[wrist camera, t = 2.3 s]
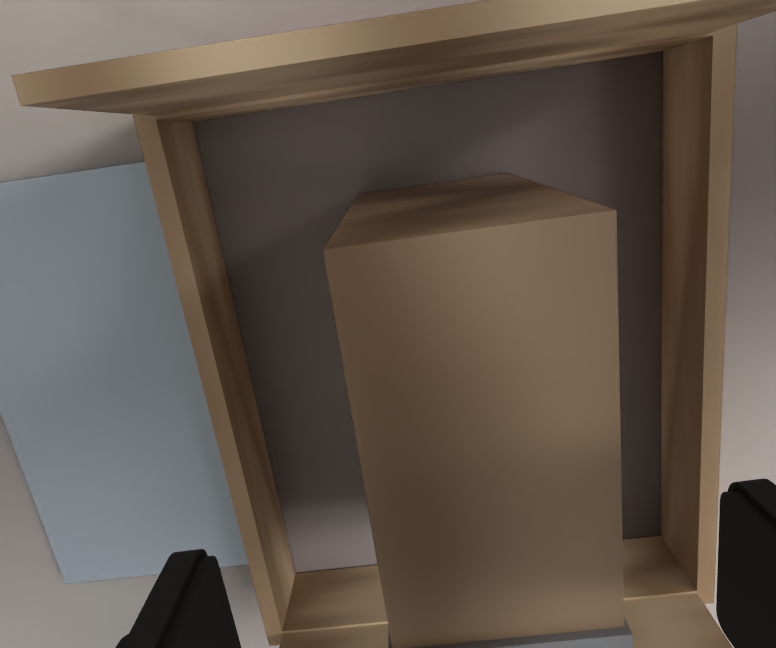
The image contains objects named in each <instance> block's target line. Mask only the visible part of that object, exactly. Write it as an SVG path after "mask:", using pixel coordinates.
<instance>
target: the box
mask: <svg viewBox="0 0 776 648" xmlns="http://www.w3.org/2000/svg"><path fill="white" fill-rule="evenodd" d="M323 255H324V261H325V266H326V272H327V278H328V283H329V289H330V295H331V300H332V306H333V312H334V318H335V323H336V329H337V335H338V340H339V346H340V352H341V358H342V363H343V369H344V375H345V380H346V386H347V392H348V398H349V403H350V409H351V415H352V420H353V426H354V432H355V438H356V443H357V449H358V455H359V460H360V466H361V472H362V478H363V483H364V489H365V495H366V500H367V506H368V512H369V518H370V523H371V529H372V535H373V540H374V546H375V552H376V558H377V563H378V569H379V575H380V580H381V586H382V592H383V598H384V603H385V609H386V615H387V620H388V648H633V634H632V632H631V630H630V628H629V626H628V623H627V621H626V619H625V617H624V583H623V530H622V478H621V425H620V372H619V320H618V267H617V215H616V210H615V209H612V208H609V207H606V206H603V205H600V204H597V203H595V202H592V201H589V200H586V199H583V198H580V197H577V196H574V195H571V194H568V193H565V192H563V191H560V190H557V189H554V188H551V187H548V186H545V185H542V184H539V183H536V182H533V181H531V180H528V179H525V178H522V177H519V176H516V175H513V174H510V173H504V174H497V175H490V176H482V177H475V178H468V179H461V180H454V181H447V182H440V183H433V184H426V185H419V186H411V187H404V188H397V189H390V190H383V191H376V192H369V193H362V194H359V195H358V196H357V198H356V199H355V201H354V202H353V204H352V205H351V207H350V208H349V210H348V212H347V213H346V215H345V216H344V218H343V219H342V221H341V222H340V224H339V225H338V227H337V229H336V230H335V232H334V233H333V235H332V236H331V238H330V239H329V241H328V242H327V244H326V246H325V247H324V249H323Z"/></svg>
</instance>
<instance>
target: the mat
mask: <svg viewBox="0 0 776 648" xmlns="http://www.w3.org/2000/svg"><path fill="white" fill-rule="evenodd" d="M0 413H1V416H2V418H3V421H4V424H5V426H6V429H7V432H8V434H9V437H10V440H11V442H12V445H13V448H14V450H15V453H16V455H17V458H18V461H19V463H20V466H21V469H22V471H23V474H24V477H25V479H26V482H27V484H28V487H29V490H30V492H31V495H32V498H33V500H34V503H35V506H36V508H37V511H38V514H39V516H40V519H41V521H42V524H43V527H44V529H45V532H46V535H47V537H48V540H49V543H50V545H51V548H52V550H53V553H54V556H55V558H56V561H57V564H58V566H59V569H60V572H61V574H62V577H63V580H64V582H65V584H69V583H79V582H88V581H98V580H107V579H117V578H126V577H136V576H145V575H155V574H160V573H161V571H162V569H163V567H164V565H165V563H166V561H167V559H168V558H169V556H170V555H171V554H172V553H174V552H180V551H188V550H196V549H204V550H205V551H206V552H207V554H208V556H215V557H216V558H217V561H218V564H219V567H220V568H222V567H231V566H241V565H248V561H247V557H246V553H245V549H244V545H243V541H242V537H241V533H240V530H239V526H238V522H237V518H236V514H235V510H234V506H233V502H232V499H231V495H230V491H229V487H228V483H227V479H226V475H225V471H224V467H223V464H222V460H221V456H220V452H219V448H218V444H217V440H216V436H215V432H214V429H213V425H212V421H211V417H210V413H209V409H208V405H207V401H206V397H205V394H204V390H203V386H202V382H201V378H200V374H199V370H198V366H197V363H196V359H195V355H194V351H193V347H192V343H191V339H190V335H189V331H188V328H187V324H186V320H185V316H184V312H183V308H182V304H181V300H180V296H179V293H178V289H177V285H176V281H175V277H174V273H173V269H172V265H171V262H170V258H169V254H168V250H167V246H166V242H165V238H164V234H163V230H162V227H161V223H160V219H159V215H158V211H157V207H156V203H155V199H154V195H153V192H152V188H151V184H150V180H149V176H148V172H147V168H146V164H145V162H139V163H132V164H125V165H118V166H112V167H105V168H98V169H91V170H84V171H78V172H71V173H64V174H57V175H50V176H44V177H37V178H30V179H23V180H16V181H10V182H3V183H0Z"/></svg>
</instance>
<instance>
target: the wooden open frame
mask: <svg viewBox="0 0 776 648" xmlns="http://www.w3.org/2000/svg"><path fill="white" fill-rule="evenodd" d="M773 11H776V0H485V1H479V2H473V3H466V4H460V5H454V6H447V7H441V8H435V9H428V10H422V11H416V12H409V13H403V14H397V15H390V16H384V17H378V18H371V19H365V20H359V21H352V22H346V23H340V24H333V25H327V26H321V27H314V28H308V29H302V30H295V31H289V32H283V33H277V34H270V35H264V36H258V37H251V38H245V39H239V40H232V41H226V42H220V43H213V44H207V45H201V46H194V47H188V48H182V49H175V50H169V51H163V52H156V53H150V54H144V55H137V56H131V57H125V58H118V59H112V60H106V61H99V62H93V63H87V64H81V65H74V66H68V67H62V68H55V69H49V70H43V71H36V72H30V73H24V74H17V75H11V76H12V79H13V82H14V86H15V89H16V92H17V95H18V98H19V102H20V105H21V106H31V107H44V108H57V109H71V110H84V111H97V112H110V113H123V114H133V118H134V122H135V126H136V129H137V133H138V137H139V141H140V145H141V149H142V153H143V157H144V161H145V164H146V168H147V172H148V176H149V180H150V184H151V188H152V192H153V195H154V199H155V203H156V207H157V211H158V215H159V219H160V223H161V227H162V230H163V234H164V238H165V242H166V246H167V250H168V254H169V258H170V262H171V265H172V269H173V273H174V277H175V281H176V285H177V289H178V293H179V296H180V300H181V304H182V308H183V312H184V316H185V320H186V324H187V328H188V331H189V335H190V339H191V343H192V347H193V351H194V355H195V359H196V363H197V366H198V370H199V374H200V378H201V382H202V386H203V390H204V394H205V397H206V401H207V405H208V409H209V413H210V417H211V421H212V425H213V429H214V432H215V436H216V440H217V444H218V448H219V452H220V456H221V460H222V464H223V467H224V471H225V475H226V479H227V483H228V487H229V491H230V495H231V499H232V502H233V506H234V510H235V514H236V518H237V522H238V526H239V530H240V533H241V537H242V541H243V545H244V549H245V553H246V557H247V561H248V565H249V568H250V572H251V576H252V580H253V584H254V588H255V592H256V596H257V600H258V603H259V607H260V611H261V615H262V619H263V623H264V627H265V631H266V634H267V638H268V642H269V646H271V645H280V647H279V648H388V620H387V615H386V609H385V603H384V598H383V592H382V586H381V580H380V575H379V569H378V565H372V566H362V567H352V568H343V569H333V570H323V571H314V572H304V573H295V569H294V564H293V560H292V555H291V551H290V547H289V542H288V538H287V534H286V529H285V525H284V520H283V516H282V512H281V507H280V503H279V499H278V494H277V490H276V485H275V481H274V477H273V472H272V468H271V464H270V459H269V455H268V451H267V446H266V442H265V437H264V433H263V429H262V424H261V420H260V416H259V411H258V407H257V402H256V398H255V394H254V389H253V385H252V381H251V376H250V372H249V367H248V363H247V359H246V354H245V350H244V346H243V341H242V337H241V332H240V328H239V324H238V319H237V315H236V311H235V306H234V302H233V297H232V293H231V289H230V284H229V280H228V276H227V271H226V267H225V262H224V258H223V254H222V249H221V245H220V241H219V236H218V232H217V228H216V223H215V219H214V214H213V210H212V206H211V201H210V197H209V193H208V188H207V184H206V179H205V175H204V171H203V166H202V162H201V158H200V153H199V149H198V144H197V140H196V136H195V131H194V127H193V123H192V122H195V121H202V120H208V119H215V118H222V117H228V116H235V115H242V114H248V113H255V112H262V111H268V110H275V109H281V108H288V107H295V106H301V105H308V104H315V103H321V102H328V101H335V100H341V99H348V98H355V97H361V96H368V95H375V94H381V93H388V92H394V91H401V90H408V89H414V88H421V87H428V86H434V85H441V84H448V83H454V82H461V81H468V80H474V79H481V78H487V77H494V76H501V75H507V74H514V73H521V72H527V71H534V70H541V69H547V68H554V67H561V66H567V65H574V64H580V63H587V62H594V61H600V60H607V59H614V58H620V57H627V56H634V55H640V54H647V53H654V52H660V51H663V211H662V409H661V536H652V537H643V538H633V539H623V583H624V617H625V619H626V621H627V623H628V626H629V628H630V630H631V632H632V634H633V648H732V646H731V645H730V643H729V641H728V640H727V638H726V637H725V635H724V634H723V632H722V631H721V629H720V628H719V626H718V625H717V623H716V622H715V620H714V618H713V617H712V615H711V614H710V612H709V611H708V609H707V608H706V606H705V605H704V604H707V603H714V589H715V564H716V539H717V513H718V488H719V463H720V438H721V413H722V388H723V363H724V338H725V313H726V288H727V263H728V238H729V213H730V188H731V163H732V138H733V113H734V88H735V63H736V38H737V23H740V22H743V21H746V20H749V19H752V18H755V17H758V16H761V15H764V14H767V13H770V12H773Z"/></svg>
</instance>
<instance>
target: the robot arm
mask: <svg viewBox="0 0 776 648" xmlns="http://www.w3.org/2000/svg"><path fill="white" fill-rule="evenodd" d="M716 610H717V617H718V620H719V623H720V626H721V628H722V630H723V632H724V633H725V635H726V636H727V638H728V639H729V641H730V642H731V643H732V645H733V646H734V648H776V485H775V484H774V483H772V482H771V481H769V480H768V479H757V480H749V481H741V482H734V483H732V484H730V486H729V489H728V492H723V493H722V495H721V498H720V519H719V548H718V577H717V605H716ZM116 648H241V645H240V641H239V638H238V634H237V630H236V627H235V623H234V619H233V615H232V612H231V608H230V604H229V601H228V597H227V593H226V590H225V586H224V582H223V579H222V575H221V571H220V567H219V564H218V561H217V558H216V557H215V556H208V554H207V552H206V551H205V550H204V549H196V550H188V551H180V552H174V553H172V554H171V555H170V556H169V558H168V559H167V561H166V563H165V565H164V567H163V569H162V571H161V573H160V575H159V577H158V579H157V581H156V583H155V585H154V587H153V589H152V590H151V592H150V594H149V596H148V598H147V600H146V602H145V604H144V606H143V608H142V610H141V612H140V614H139V616H138V618H137V620H136V622H135V624H134V625H133V627H132V629H131V631H130V633H129V634H128V635H126V636H125V637H123V638H122V639H121V640H120V642H119V643H118V645H117V646H116Z"/></svg>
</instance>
